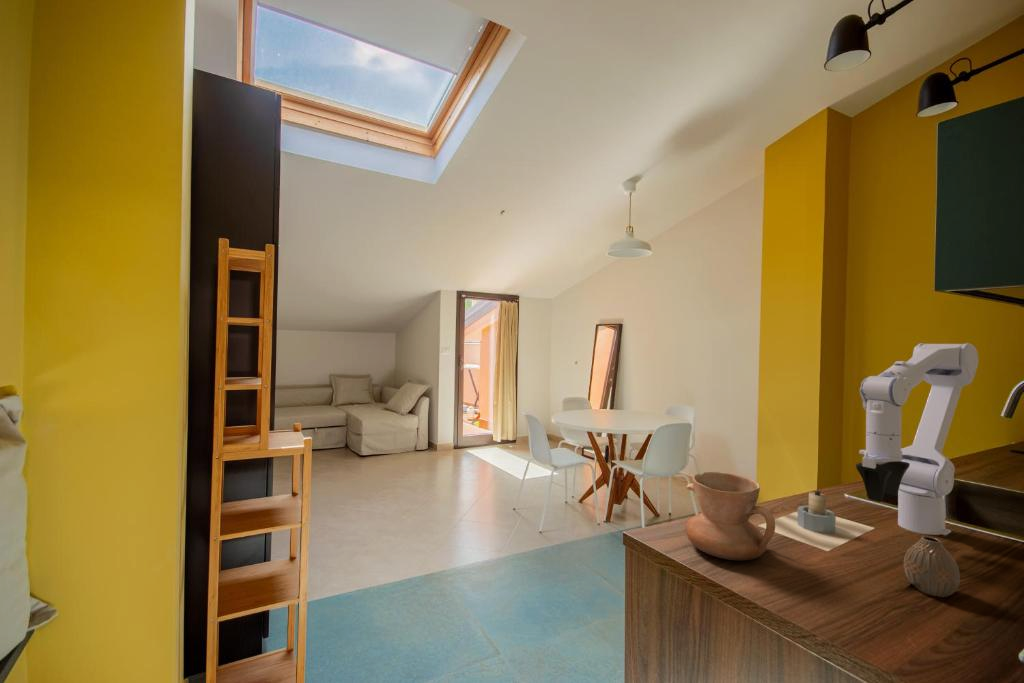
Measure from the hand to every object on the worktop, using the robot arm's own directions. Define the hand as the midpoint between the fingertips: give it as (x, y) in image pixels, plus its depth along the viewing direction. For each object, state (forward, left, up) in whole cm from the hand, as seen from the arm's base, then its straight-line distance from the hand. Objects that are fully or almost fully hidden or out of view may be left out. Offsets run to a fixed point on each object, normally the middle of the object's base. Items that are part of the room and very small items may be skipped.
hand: (882, 497), depth 94 cm
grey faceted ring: (+6, -10, -9) cm, 14 cm away
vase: (+16, +12, -10) cm, 22 cm away
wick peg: (+6, -10, -9) cm, 14 cm away
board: (+6, -10, -9) cm, 15 cm away
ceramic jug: (+33, -14, -10) cm, 37 cm away
